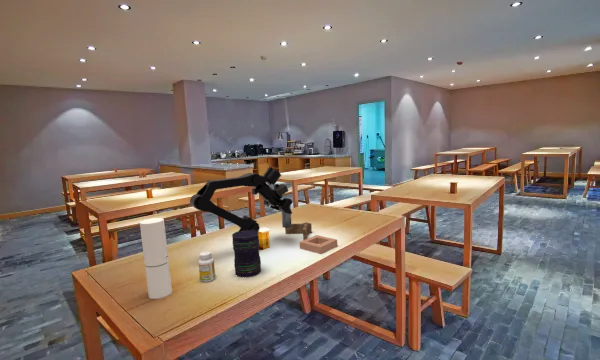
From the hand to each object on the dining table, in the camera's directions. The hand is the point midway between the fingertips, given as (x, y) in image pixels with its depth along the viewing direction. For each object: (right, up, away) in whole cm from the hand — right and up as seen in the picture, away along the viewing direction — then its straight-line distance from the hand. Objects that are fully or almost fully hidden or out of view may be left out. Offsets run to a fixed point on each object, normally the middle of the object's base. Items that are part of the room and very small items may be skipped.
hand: (288, 212), depth 154 cm
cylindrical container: (-41, -22, -47) cm, 66 cm away
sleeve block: (+14, -14, -11) cm, 23 cm away
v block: (+6, -12, +9) cm, 17 cm away
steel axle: (-1, -7, 0) cm, 7 cm away
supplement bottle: (-28, -20, -37) cm, 51 cm away
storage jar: (-14, -19, -33) cm, 41 cm away
